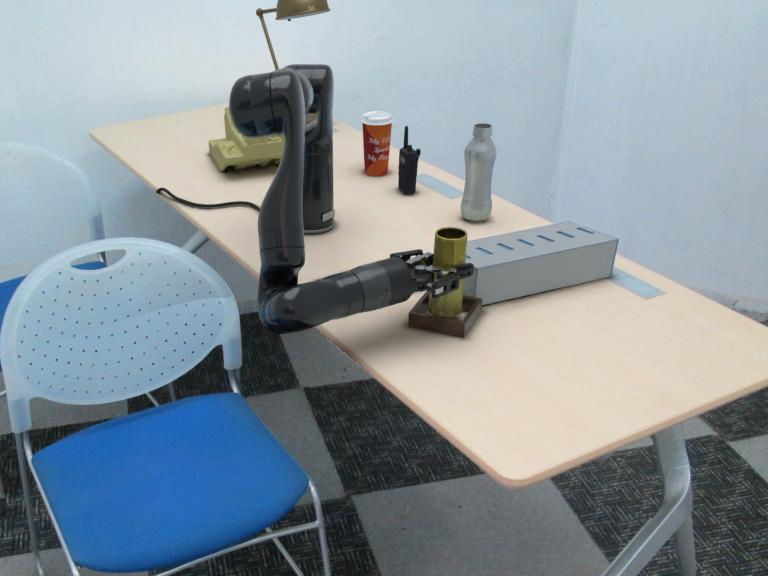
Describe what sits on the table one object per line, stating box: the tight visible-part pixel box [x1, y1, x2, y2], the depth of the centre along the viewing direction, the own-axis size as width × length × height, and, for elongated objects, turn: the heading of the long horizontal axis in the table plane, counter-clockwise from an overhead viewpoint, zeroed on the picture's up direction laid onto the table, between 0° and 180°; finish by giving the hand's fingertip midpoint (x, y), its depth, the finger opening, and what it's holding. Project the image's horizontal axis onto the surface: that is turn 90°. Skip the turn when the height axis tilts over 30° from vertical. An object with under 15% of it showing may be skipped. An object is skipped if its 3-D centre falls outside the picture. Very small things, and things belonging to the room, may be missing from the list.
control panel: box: [208, 106, 284, 172], centre depth 217 cm, size 24×16×20 cm
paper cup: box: [360, 110, 394, 177], centre depth 207 cm, size 8×8×14 cm
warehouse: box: [463, 221, 620, 306], centre depth 160 cm, size 30×14×8 cm, turn 112°
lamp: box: [255, 0, 331, 125], centre depth 241 cm, size 15×34×37 cm, turn 29°
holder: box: [407, 290, 483, 338], centre depth 149 cm, size 10×10×3 cm
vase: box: [427, 226, 468, 319], centre depth 145 cm, size 6×6×14 cm
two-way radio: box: [397, 125, 422, 195], centre depth 196 cm, size 6×4×15 cm
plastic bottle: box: [459, 122, 498, 222], centre depth 180 cm, size 6×7×20 cm
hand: (460, 262), depth 145 cm, fingers closed on vase, 5 cm apart
